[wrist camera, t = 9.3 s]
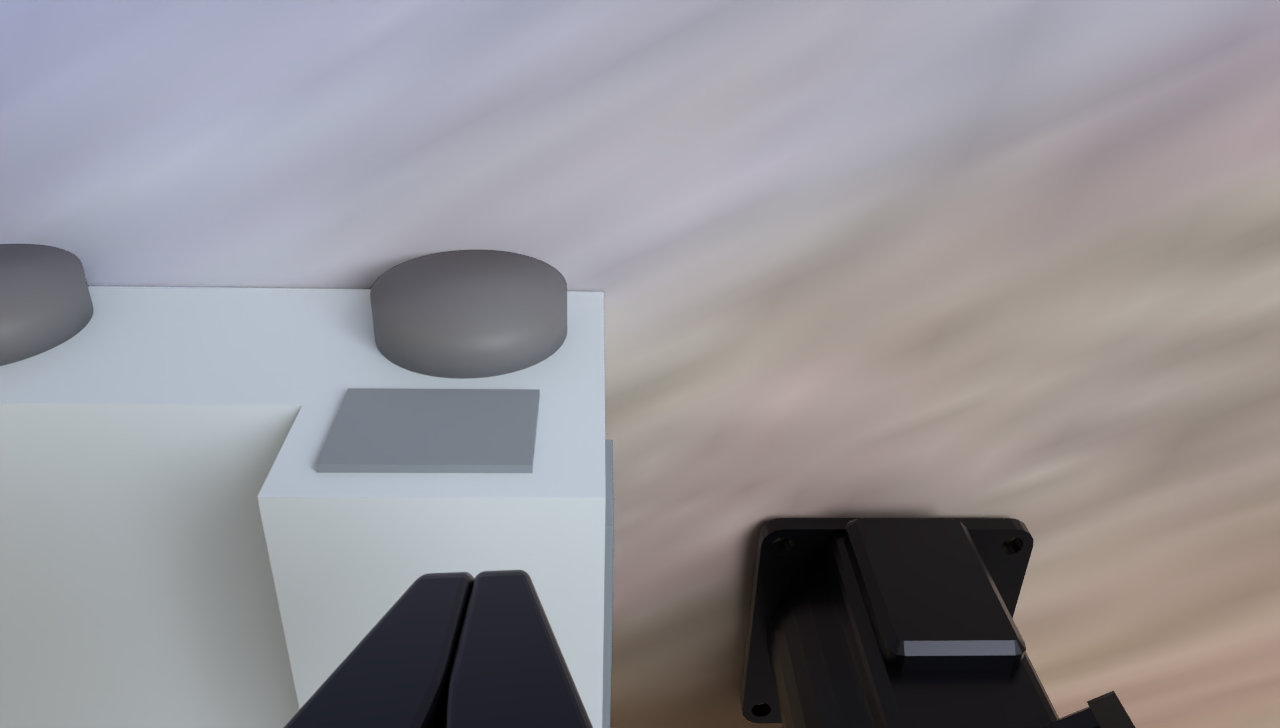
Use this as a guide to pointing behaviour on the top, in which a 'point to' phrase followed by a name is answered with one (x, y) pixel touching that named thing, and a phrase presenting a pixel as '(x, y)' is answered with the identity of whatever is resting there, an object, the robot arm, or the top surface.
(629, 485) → the top surface
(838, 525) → the robot arm
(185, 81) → the top surface
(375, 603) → the white stepped block
